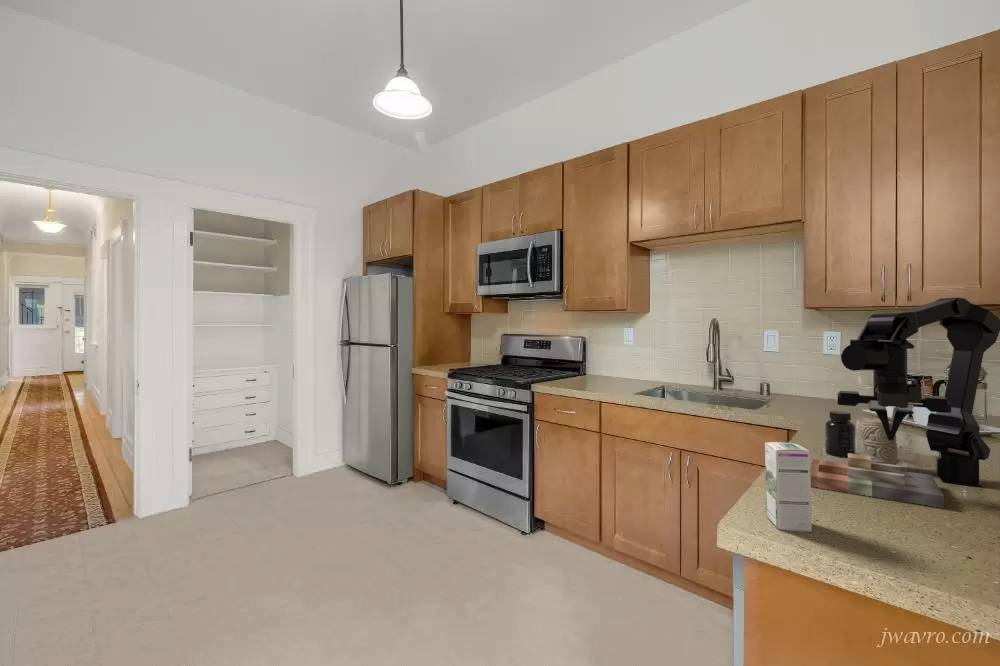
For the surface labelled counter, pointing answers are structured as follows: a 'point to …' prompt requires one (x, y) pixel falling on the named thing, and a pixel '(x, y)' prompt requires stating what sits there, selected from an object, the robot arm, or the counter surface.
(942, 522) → the counter surface
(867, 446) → the carving
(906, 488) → the channel deck
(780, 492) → the syrup box
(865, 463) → the maple block
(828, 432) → the supplement bottle
